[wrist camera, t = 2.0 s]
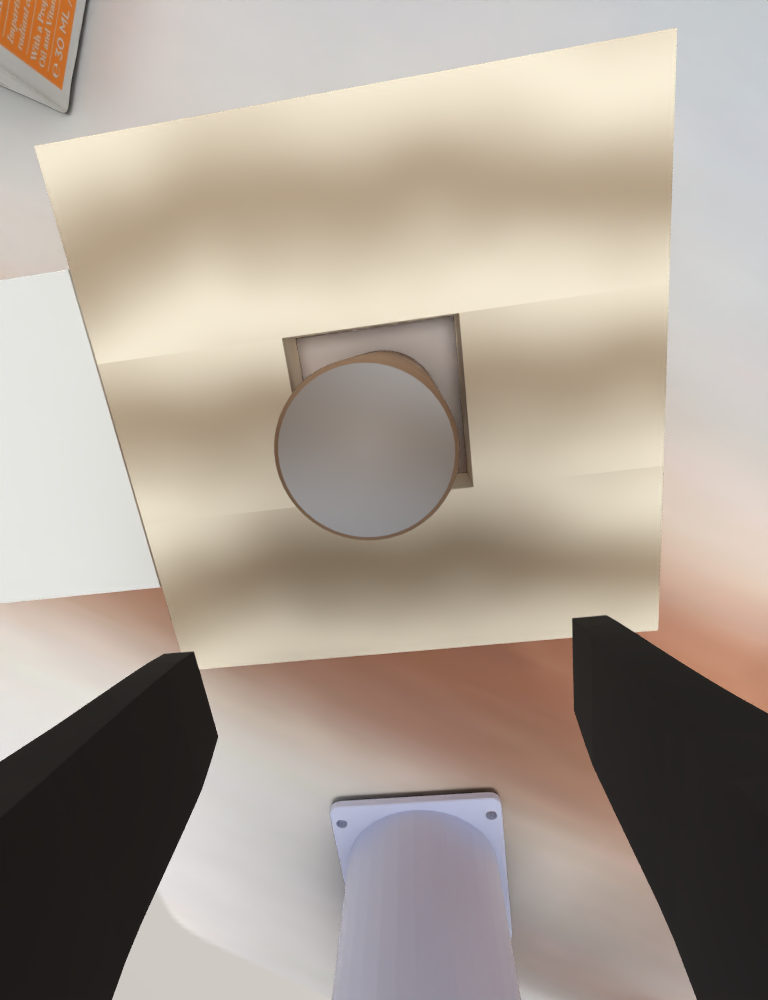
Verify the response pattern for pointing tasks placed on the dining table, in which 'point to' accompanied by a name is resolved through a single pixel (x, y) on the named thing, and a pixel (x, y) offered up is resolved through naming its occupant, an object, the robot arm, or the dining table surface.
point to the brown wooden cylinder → (367, 446)
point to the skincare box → (40, 48)
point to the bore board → (387, 301)
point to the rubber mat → (61, 455)
